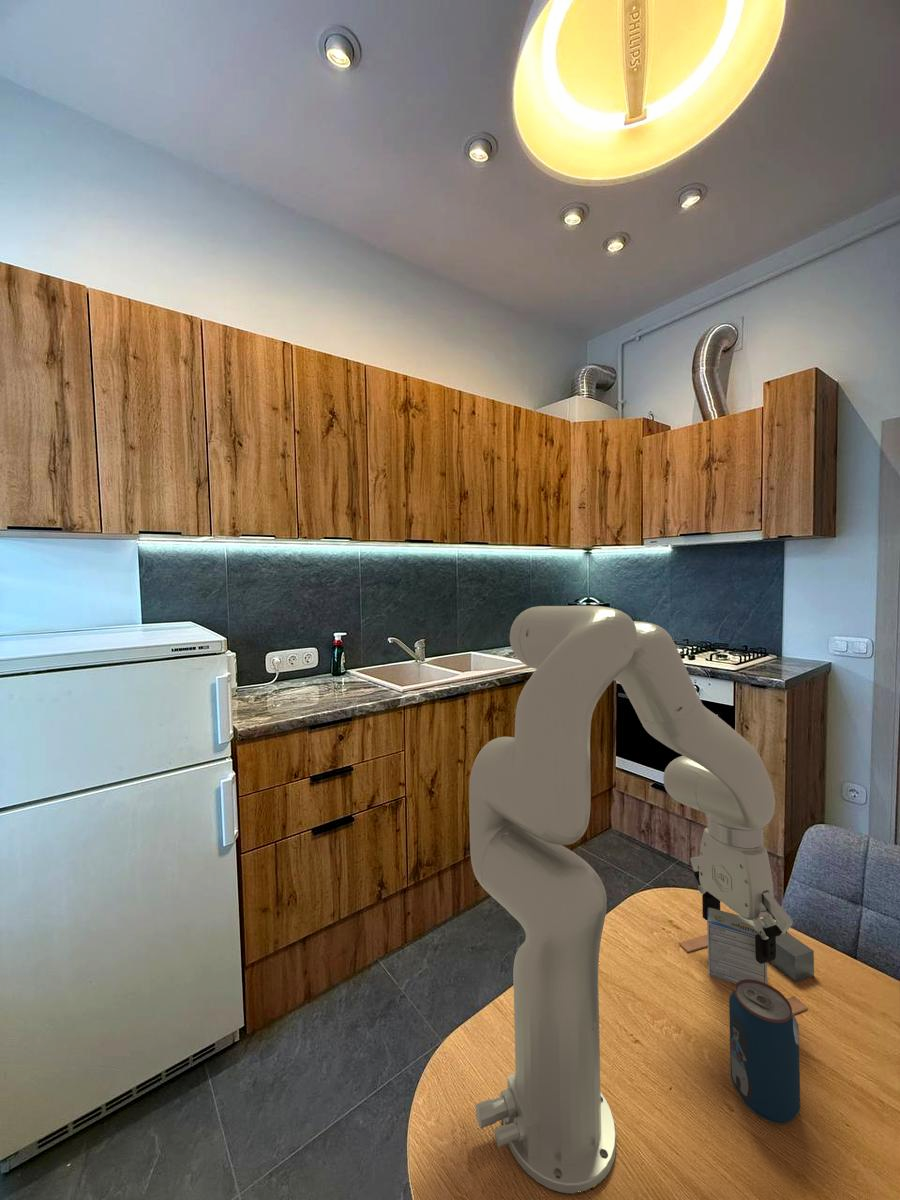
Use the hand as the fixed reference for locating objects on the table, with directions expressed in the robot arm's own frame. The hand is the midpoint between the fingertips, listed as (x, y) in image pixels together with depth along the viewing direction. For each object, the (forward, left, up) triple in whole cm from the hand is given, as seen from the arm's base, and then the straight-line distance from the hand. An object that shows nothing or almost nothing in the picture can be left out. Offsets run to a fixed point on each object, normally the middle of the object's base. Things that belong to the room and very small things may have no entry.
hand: (736, 937), depth 74 cm
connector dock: (+3, 0, -6) cm, 7 cm away
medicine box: (0, 0, -6) cm, 6 cm away
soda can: (-13, -15, -6) cm, 21 cm away
